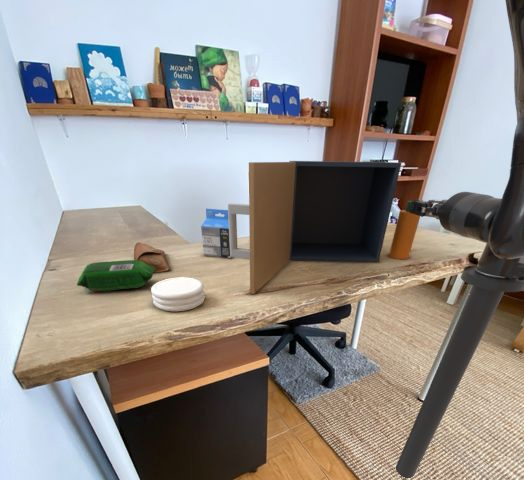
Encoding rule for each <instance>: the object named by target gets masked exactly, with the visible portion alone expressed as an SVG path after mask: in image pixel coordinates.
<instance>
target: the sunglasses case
mask: <svg viewBox="0 0 524 480" xmlns="http://www.w3.org/2000/svg"><path fill="white" fill-rule="evenodd" d="M133 260H137V261H142V262H144V263H146V264H148V265H150V266H154V267H155V268H156V269H158V270H154V271H153V272H152V274H157V273H164V272H167V271H170V267H169V264H168V262H167V260H166V257H165V251H164V250H162V249H159V248H156V247H153V246H151V245H149V244H147V243H144V242H137V243H135V245H134V249H133Z"/></svg>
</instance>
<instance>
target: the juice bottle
mask: <svg viewBox="0 0 524 480" xmlns="http://www.w3.org/2000/svg"><path fill="white" fill-rule="evenodd" d="M412 201H413V200H407V203H406V206H405V209H402V210H401V209H400V210H399V212H398V217H397V221H396V225H395V229H394V233H393V238H392V241H391V246H390V248H389V254H388V256H389V257H390V258H393V259H397V260H407V259H409V257H410V254H411V250H412V248H413V247H412V246H413V243H414V240H415V236H416V233H417V229H418V227H419V222H420V220H421V216H419V215H415V214H412V213H409V211H410V208H411V205H412Z"/></svg>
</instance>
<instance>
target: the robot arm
mask: <svg viewBox="0 0 524 480" xmlns="http://www.w3.org/2000/svg"><path fill="white" fill-rule="evenodd" d="M505 7H506V13H507V14H506V15H507V19H508V25H509V30H510V31H509V32H510V37H511V42H512V50H513V64H514V65H513V72H514V73H513V83H514V84H513V90H514V105H515V113H516V126H515V130H514V135H513V140H512V149H511V159H510V166H509V167H510V169H509V177H508V180H507V184H506V186H505V189H504V191H503V194H502V196H501V198H500V197H494V196H492V195H490V194H484V193H477V192H471V191H461V192H457V193H455V194H453V195H452V196H450V197H449V198H448V199H445V198H444V199H434V198H433V199H428V200H424V199H414V200H411V201H412V205H411V208H410V211H409V213H412V214H415V215H419V216H420V218H421V217H422V218H424V217H427V218H434V219H436V220H439V224H440V226H441V227H442V228H443V229H444V230H446V231H448V232H450V233H454V234H455V235H459V236H461V237H465V238H468V239H474V240H476V241H479V242H481V243H485V246H484V248H483V251H482V253H481V255H480V258H479V261H478V262H477V264H476V265H477V267H476V269H475V271H476V272H477V273H478V274H481V275H484V276H487V277H491V278H497V279H505V280H512V279H514V278H516V277H519V278H518V280H519V281H521V280H524V277H523V276H524V0H505Z"/></svg>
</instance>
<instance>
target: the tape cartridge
mask: <svg viewBox="0 0 524 480" xmlns="http://www.w3.org/2000/svg"><path fill="white" fill-rule="evenodd" d="M219 214H220V215H219ZM221 215H223V216H221ZM200 230H201V240H202V250H203V251H202V253H203V256H207V257H216V258H217V257H218V258H224V259H225V258H226V259H232V258H233V257H230V242H229V221H228V209H218V208H217V209H216V208H205V219H204V221H203V223H202V224H201V226H200Z"/></svg>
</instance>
